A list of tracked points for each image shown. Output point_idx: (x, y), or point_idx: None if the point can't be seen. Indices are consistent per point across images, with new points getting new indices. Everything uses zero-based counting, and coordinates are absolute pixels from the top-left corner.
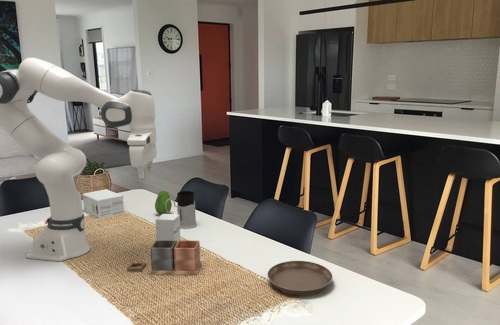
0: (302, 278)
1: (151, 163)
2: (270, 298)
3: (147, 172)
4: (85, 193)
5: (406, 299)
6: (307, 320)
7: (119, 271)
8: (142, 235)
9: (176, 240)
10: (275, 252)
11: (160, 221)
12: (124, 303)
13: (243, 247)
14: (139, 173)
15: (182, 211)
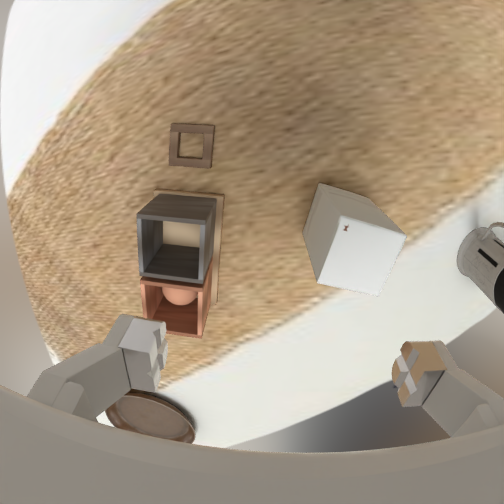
0: (161, 422)
1: (449, 430)
2: None
3: (403, 345)
4: None
5: None
6: None
7: (174, 103)
8: (442, 130)
9: (201, 283)
10: (267, 412)
11: (332, 232)
12: (40, 168)
13: (302, 374)
14: (101, 353)
15: (490, 267)
